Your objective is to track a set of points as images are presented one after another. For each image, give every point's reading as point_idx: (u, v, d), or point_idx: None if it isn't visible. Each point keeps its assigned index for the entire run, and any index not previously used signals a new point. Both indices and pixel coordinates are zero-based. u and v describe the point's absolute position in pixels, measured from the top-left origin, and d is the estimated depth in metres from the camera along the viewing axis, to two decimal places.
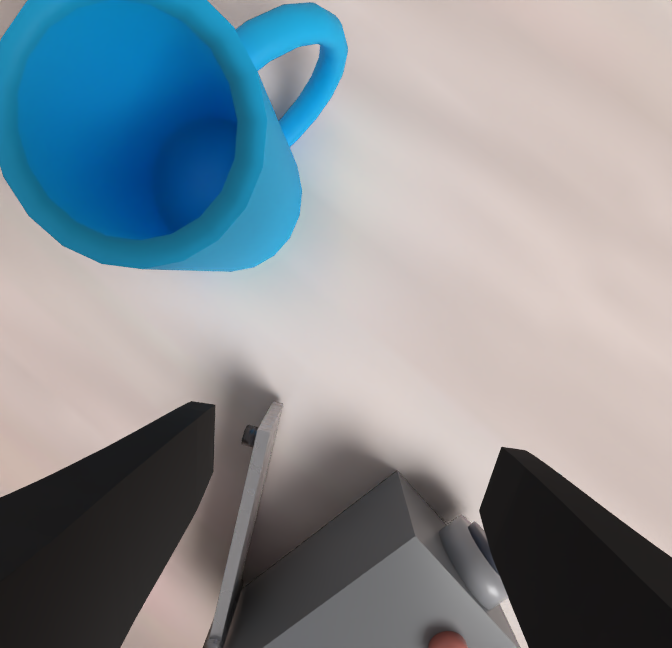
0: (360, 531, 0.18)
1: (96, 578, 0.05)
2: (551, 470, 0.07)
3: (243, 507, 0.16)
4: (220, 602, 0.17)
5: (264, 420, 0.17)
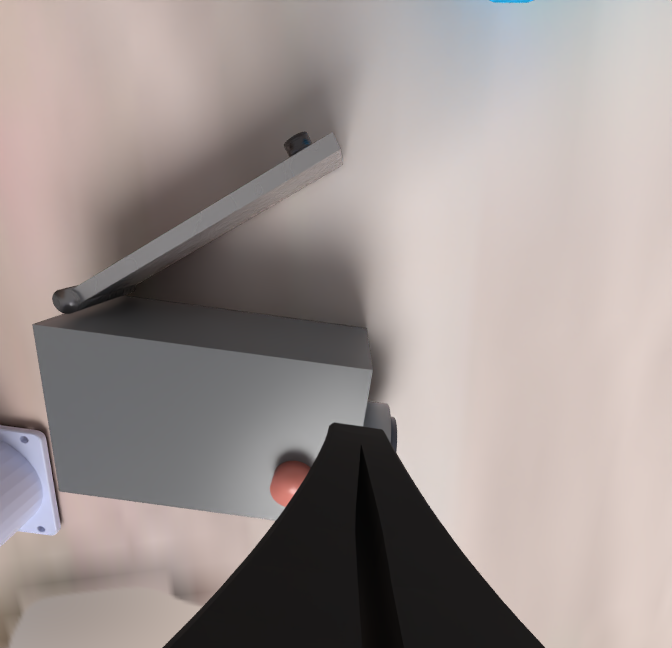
0: (303, 337, 0.15)
1: None
2: (387, 446, 0.07)
3: (235, 197, 0.12)
4: (117, 266, 0.13)
5: None
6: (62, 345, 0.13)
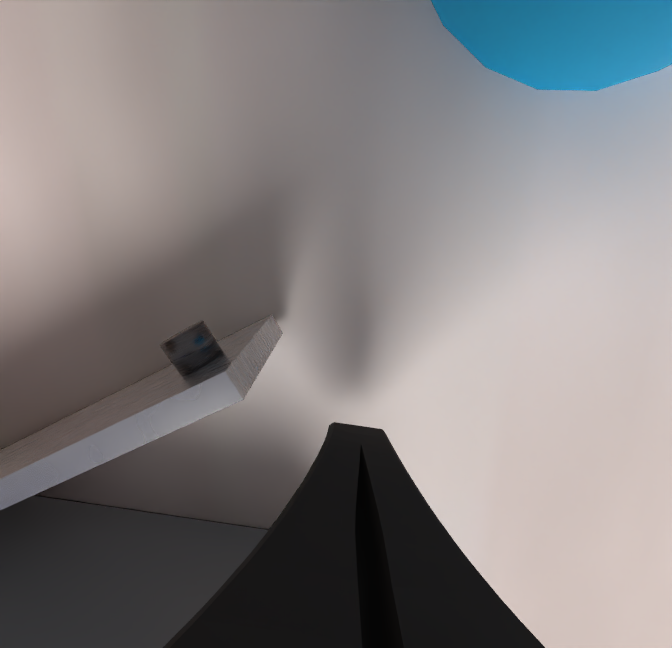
0: None
1: None
2: (387, 446, 0.07)
3: (54, 463, 0.06)
4: None
5: (245, 352, 0.07)
6: None
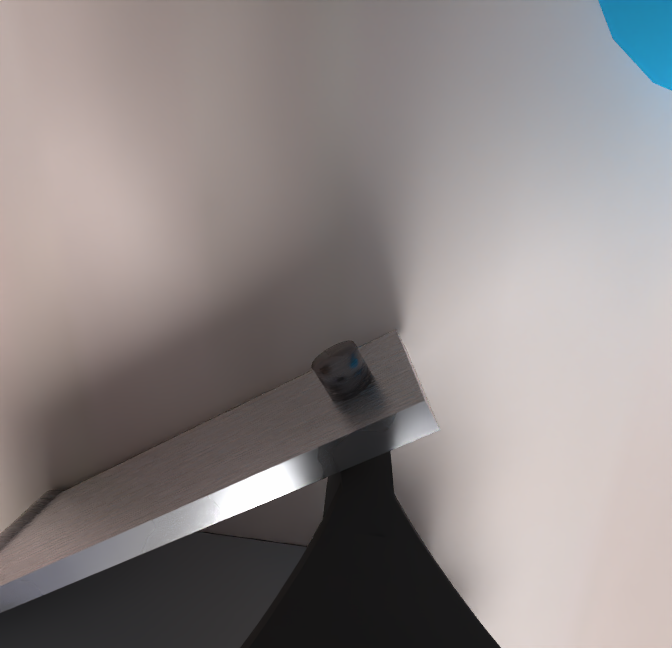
0: None
1: None
2: None
3: (219, 500, 0.06)
4: (4, 591, 0.07)
5: (415, 375, 0.06)
6: None
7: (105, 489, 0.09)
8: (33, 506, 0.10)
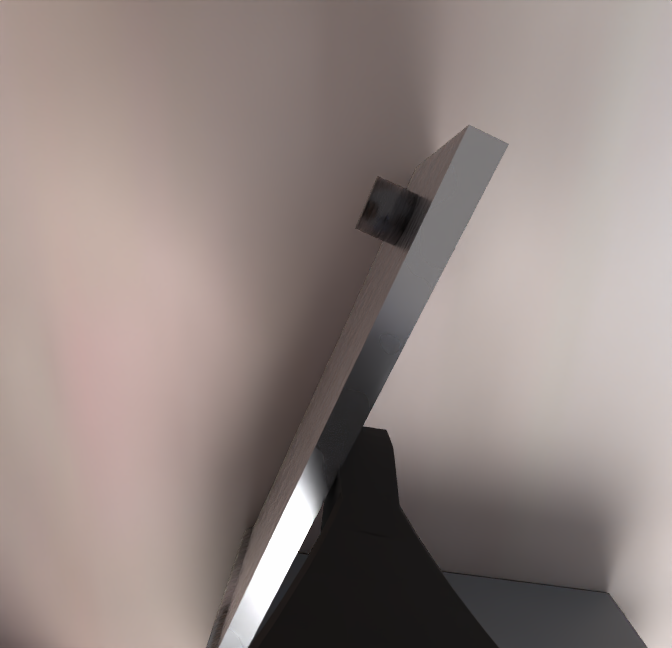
0: None
1: None
2: (362, 442, 0.07)
3: (356, 384, 0.06)
4: (249, 599, 0.07)
5: None
6: None
7: (278, 486, 0.09)
8: (240, 548, 0.11)
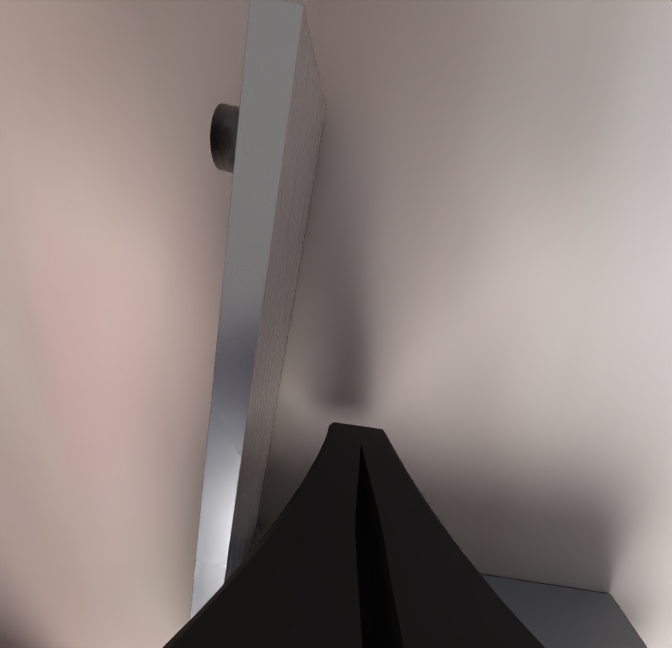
0: None
1: None
2: (387, 446, 0.07)
3: (230, 333, 0.05)
4: (199, 586, 0.07)
5: None
6: None
7: None
8: None
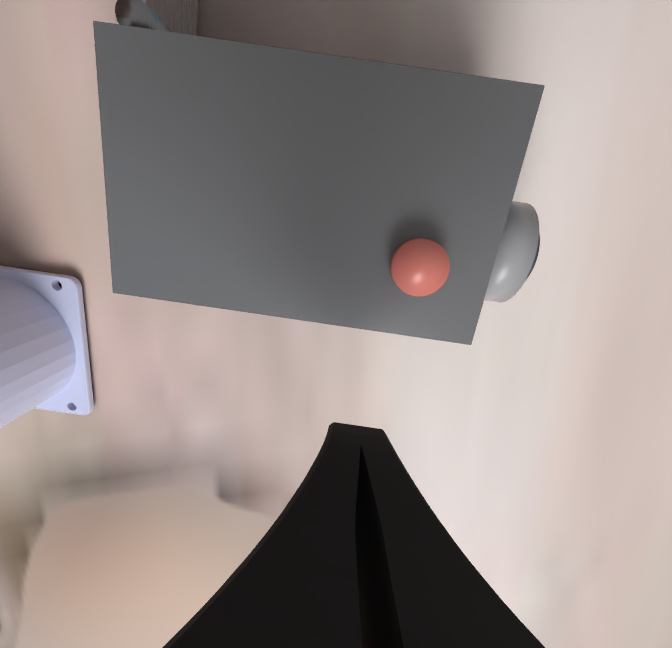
0: None
1: None
2: (387, 446, 0.07)
3: None
4: None
5: None
6: (131, 55, 0.10)
7: None
8: None
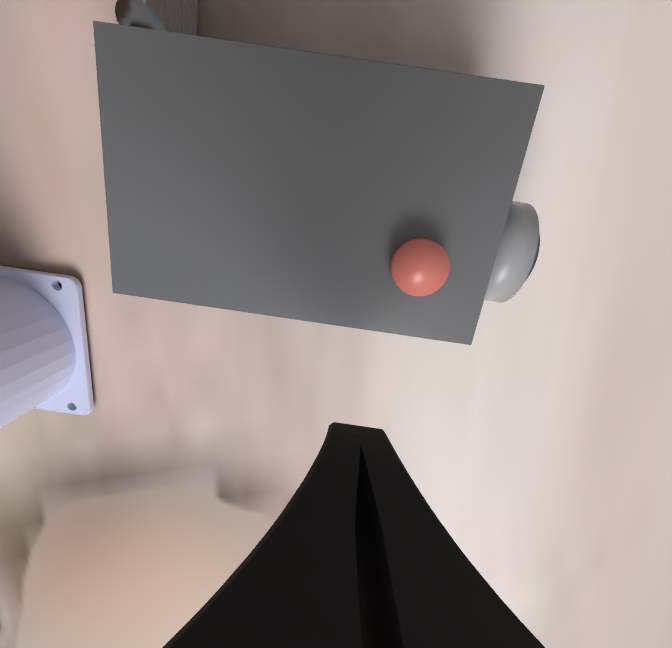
0: None
1: None
2: (387, 446, 0.07)
3: None
4: None
5: None
6: (131, 55, 0.10)
7: None
8: None
